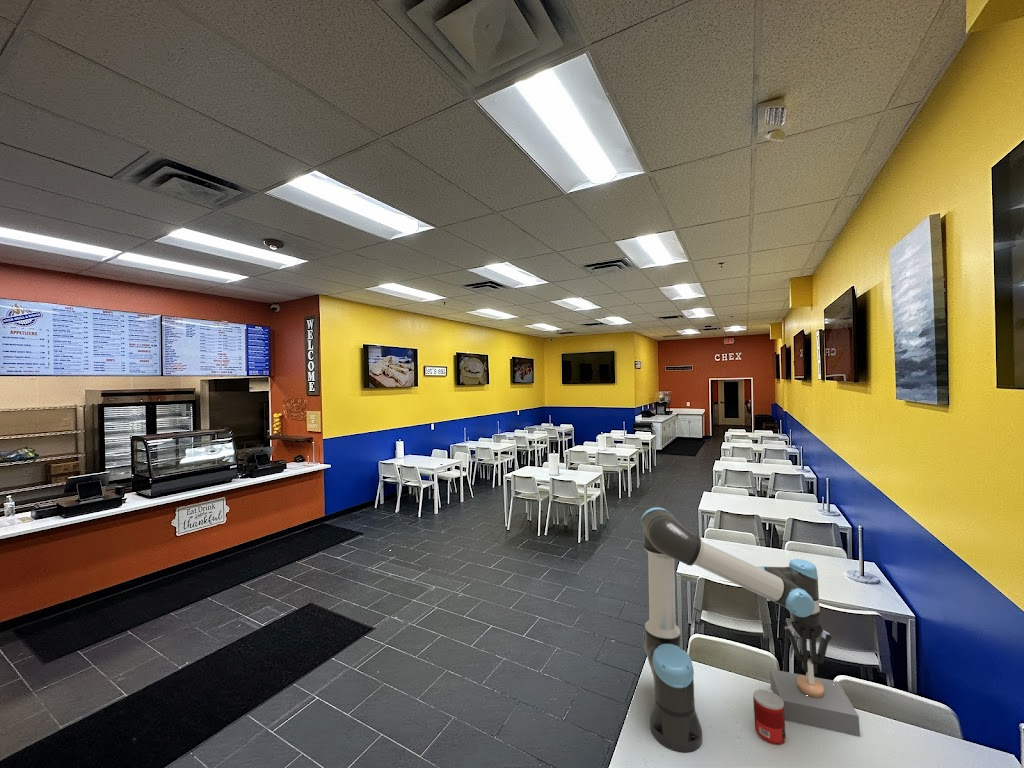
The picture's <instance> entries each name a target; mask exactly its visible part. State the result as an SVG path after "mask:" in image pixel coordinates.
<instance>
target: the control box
mask: <svg viewBox="0 0 1024 768" xmlns="http://www.w3.org/2000/svg"><path fill="white" fill-rule="evenodd" d="M802 675H803V674H800V673H794V672H788V671H782V670H777V669H772V668H770V669H769V677H770V687H771V692H773V693H775V694H776V695H778V696H779V697H780V698H781V699H782V700H783V702H784V714H785V722H791V723H796V724H800V725H805V726H810V727H815V728H819V729H823V730H827V731H833V732H838V733H843V734H847V735H852V736H854V737H855V736H856V737H861V734H860V733H861V731H860V716H859V715H858V713H857V711H856V709H855V708H854V705H853V704H852V702H851V700H850V699H849V697H848V696H847V694H846V692H845V690H844V689H843V687H842V685H841V683H840V682H839V680H838V681H837V680H832V679H827V678H826V679H825V678H821V677H817V676H814V678H815V679H817V680H818V681H820V682H821V683H822V684H823V687H824V696H823V697H821V698H815V697H811V696H806V694H804V693H803V692H801V691H800V690H799V688H798V683H797V678H798V676H802ZM834 681H835V682H834ZM833 684H834V685H833Z"/></svg>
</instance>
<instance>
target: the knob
mask: <svg viewBox="0 0 1024 768" xmlns="http://www.w3.org/2000/svg"><path fill="white" fill-rule="evenodd" d="M801 675H802V676H798V678H797V683H798V688H799V690H800V691H801V692H803V693H804V694H806V695H808V696H811V697H815V698H821V697H823V696H824V687H823V684H822V683H821V682H820V681H818V680H817V679H815V678H814V685H811V684H809V683H808V681H807V678H806V674H805V675H804V674H801Z"/></svg>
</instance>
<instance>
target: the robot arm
mask: <svg viewBox="0 0 1024 768" xmlns="http://www.w3.org/2000/svg"><path fill="white" fill-rule="evenodd" d="M640 527H641V530H642V532H643V533H642V534H643V536H642V537H643V538H642V539H643V549H644V550H645V551H646V553H647V554H648V555H647V559H648V560H647V563H648V566H647V567H648V608H649V609H648V610H649V611H648V612H649V613H648V615H649V616H648V617H649V619H648V620H647V621H646V622H645V623H644V632H643V635H642V646H643V649H644V652H645V655H646V657H647V660H648V661H647V662H648V663H649V666H650V667H649V668H650V670H651V674H652V676H653V687H654V703H653V707H652V710H651V712H650V716H649V717H650V718H649V721H650V722H649V726H650V731H651V734H652V735H653V736H654V738H655V739H656V740H657V741H658V742H659V743H660V744H662V745H663V746H664V747H666V748H668V749H670V750H672V751H677V752H679V753H688V752H689V753H690V752H694V751H696V750H697V749H699V748H700V747H701V746H702V744H703V729H702V725H701V723H700V719H699V717H698V714H697V711H696V708H695V707H696V705H695V702H696V701H695V683H694V674H695V672H694V665H693V662H692V659H691V656H690V655H689V654H688V653H687V651H686V650H685V649H682V645H681V644H682V643H681V642H682V641H681V640H682V639H681V628H680V627H679V626H678V625H677V624H676V589H675V587H676V586H675V584H676V583H675V581H676V579H675V560H676V561H678V562H680V563H682V564H685V565H686V566H689V567H692V566H694V565H695V566H697V567H699V568H701V569H704V570H706V571H708V572H709V573H712V574H714V575H715V576H718V577H720V578H722V579H724V580H727V581H729V582H731V583H733V584H735V585H737V586H740V587H741V588H744V589H745V590H747V591H750V592H752V593H754V594H757V595H759V596H761V597H763V598H765V599H767V600H769V601H770V602H771V601H772V602H773V603H776V604H778V605H780V606H781V607H784V608H785V609H786V610H788V612H790V613H791V614H792V621H791V624H790V625H784V626H783V629H784V630H785V632H786V633H787V635H788V637H789V640H790V643H791V647H792V649H793V653H794V656H795V657H796V659H797V660H798V661H801V667H802V670H803V672H804V673H805V676H806V678H807V681H808V683H809V684H811V685H814V677H815V675H816V674H818V666H819V664H824V663H825V658H826V654H827V649H828V644H829V642H830V641H831V640H832V638H833V637H832V636H831V634H830V633H829V631H825V630H824V629H823V627H822V624H821V613H820V610H821V609H820V608H821V607H820V597H819V596H820V595H819V577H818V570H817V566H816V565H815V564H814V563H813V562H812V561H808V560H805V559H801V558H793V559H790V560H789V563H788V566H764V565H763V566H757V565H754V564H753V563H750V562H747V561H745V560H743V559H741V558H739V557H736V556H735V555H733V554H731V553H728V552H727V551H726V552H725V551H724V550H722V549H719V548H717V547H715V546H713V545H711V544H709V543H707V542H704V541H703V540H702V538H701V537H700V536H698V535H696V534H695V533H692V532H691V531H690V530H688V529H687V528H685V527H684V526H683V525H682V524H681V523H680V521H678V520H677V519H676V518H675V516H674V514H672V512H671V511H668V510H667V509H665V508H663V507H651V508H649V509H647V510H646V511H645V512H644V513H642V516H641V518H640ZM794 631H795V632H796V633H797V635H798V636H799V642H800V643H799V645H800V650H799V647H798V643H797V642H796V638H795V636H794V633H795V632H794ZM820 636H821V637H820ZM819 637H820V641H819V644H818V645H819V646H818V649H817V639H818V638H819ZM808 642H809V643H808ZM807 644H809V654H810V655H809V656H810V657H809V658H808V645H807Z"/></svg>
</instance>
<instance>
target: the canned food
mask: <svg viewBox="0 0 1024 768" xmlns="http://www.w3.org/2000/svg"><path fill="white" fill-rule="evenodd" d="M752 695H753V715H754V717H753V719H754V728H755V732H756V734H757V736H758V737H759V738H760V739H762V740H763V741H765V742H766V743H769V744H771V745H776V746H777V745H783V744H784V743H785V742H786V735H787V734H786V720H785V714H784V702H783V700H782V699H781V698H780V697H779V696H778V695H776V694H775V693H773V691H770V690H767V689H757V690H755V691H754V692H753V694H752Z"/></svg>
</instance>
